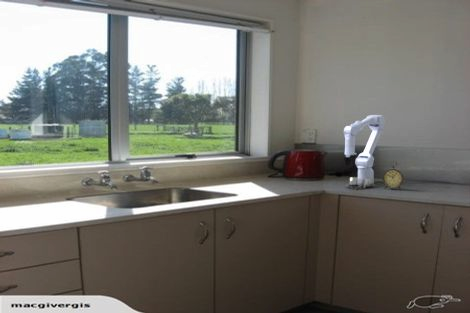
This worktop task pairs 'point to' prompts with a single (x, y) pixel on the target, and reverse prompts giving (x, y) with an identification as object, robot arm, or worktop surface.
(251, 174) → the worktop surface
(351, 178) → the collar
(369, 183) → the duct socket
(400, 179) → the alarm clock
